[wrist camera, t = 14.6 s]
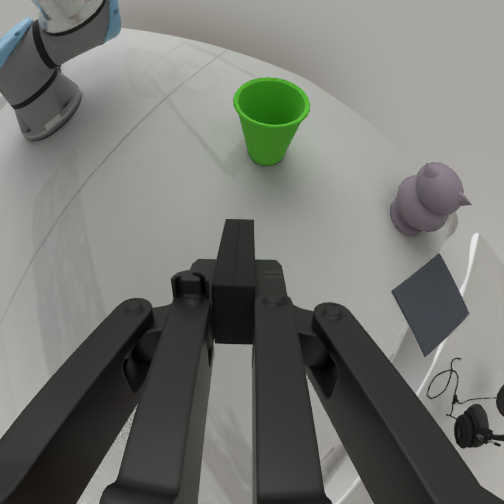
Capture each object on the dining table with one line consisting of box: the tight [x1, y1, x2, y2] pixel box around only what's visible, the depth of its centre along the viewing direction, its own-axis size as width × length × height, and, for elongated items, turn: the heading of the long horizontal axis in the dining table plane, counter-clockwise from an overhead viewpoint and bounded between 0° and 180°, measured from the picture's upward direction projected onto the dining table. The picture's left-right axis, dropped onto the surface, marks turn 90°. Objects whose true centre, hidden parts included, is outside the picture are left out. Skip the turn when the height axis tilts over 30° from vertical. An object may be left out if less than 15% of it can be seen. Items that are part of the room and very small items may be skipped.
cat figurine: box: [390, 162, 472, 236], centre depth 33 cm, size 9×8×12 cm
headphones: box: [428, 358, 504, 448], centre depth 22 cm, size 15×11×20 cm
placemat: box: [392, 254, 469, 357], centre depth 35 cm, size 11×11×1 cm
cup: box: [233, 77, 310, 166], centre depth 36 cm, size 9×9×11 cm
